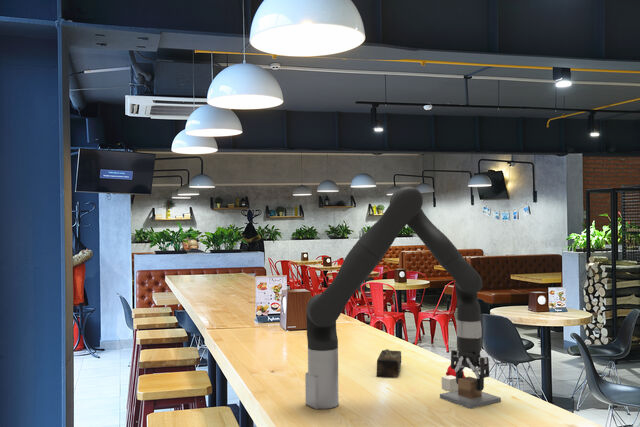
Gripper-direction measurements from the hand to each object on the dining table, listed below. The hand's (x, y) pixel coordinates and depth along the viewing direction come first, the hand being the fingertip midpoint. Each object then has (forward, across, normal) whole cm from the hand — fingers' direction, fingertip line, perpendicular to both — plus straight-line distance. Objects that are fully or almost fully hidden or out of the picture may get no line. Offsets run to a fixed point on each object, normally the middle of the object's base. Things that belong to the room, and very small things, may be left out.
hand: (469, 387), depth 187 cm
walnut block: (+3, 0, 0) cm, 3 cm away
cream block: (+4, -12, +3) cm, 13 cm away
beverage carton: (+4, -42, +1) cm, 43 cm away
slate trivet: (+4, 0, 0) cm, 4 cm away
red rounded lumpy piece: (+4, -17, +10) cm, 20 cm away
